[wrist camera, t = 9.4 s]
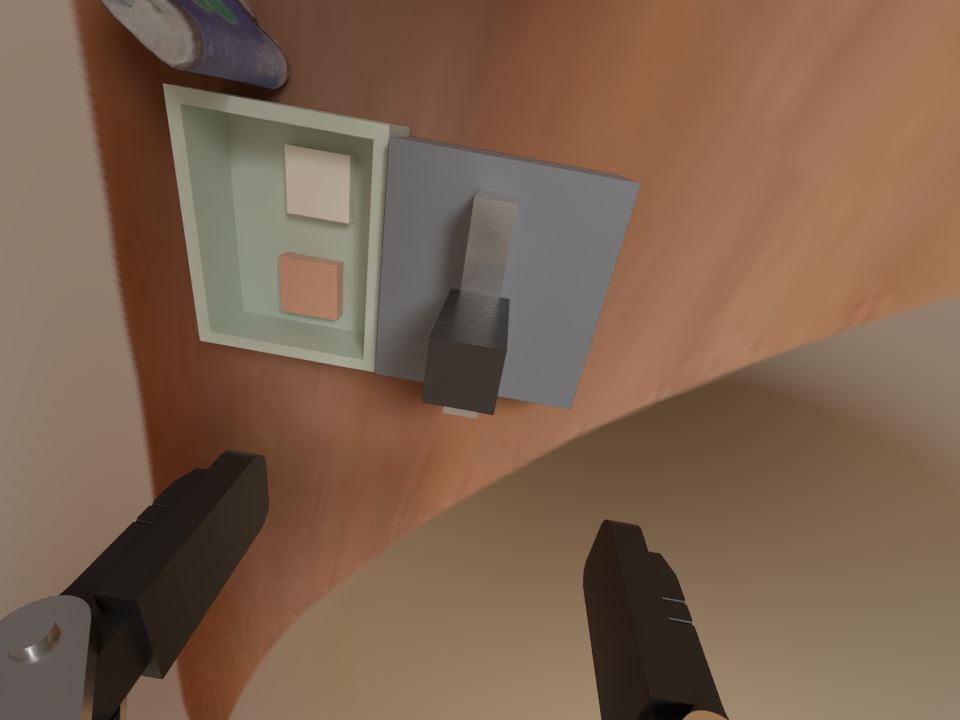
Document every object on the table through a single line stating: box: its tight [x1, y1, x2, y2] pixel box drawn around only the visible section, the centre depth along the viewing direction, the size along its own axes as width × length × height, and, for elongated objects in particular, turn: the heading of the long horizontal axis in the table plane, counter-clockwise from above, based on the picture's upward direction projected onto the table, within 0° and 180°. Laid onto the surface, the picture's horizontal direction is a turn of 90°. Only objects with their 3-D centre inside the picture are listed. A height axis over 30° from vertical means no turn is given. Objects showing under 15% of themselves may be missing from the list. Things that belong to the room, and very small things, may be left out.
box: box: [163, 83, 410, 372], centre depth 29 cm, size 15×12×5 cm
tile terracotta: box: [279, 252, 344, 321], centre depth 31 cm, size 4×4×1 cm
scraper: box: [422, 188, 518, 419], centre depth 22 cm, size 12×3×10 cm, turn 171°
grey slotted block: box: [375, 137, 641, 409], centre depth 28 cm, size 14×13×6 cm
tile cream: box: [284, 144, 357, 224], centre depth 28 cm, size 4×4×1 cm
